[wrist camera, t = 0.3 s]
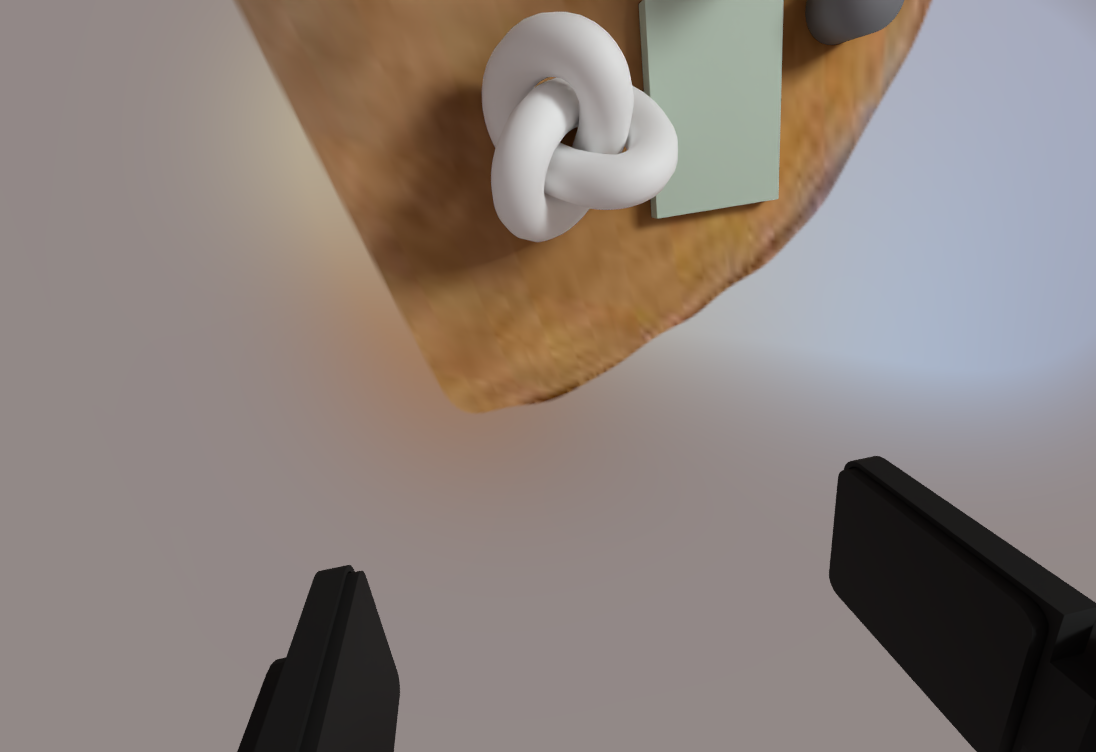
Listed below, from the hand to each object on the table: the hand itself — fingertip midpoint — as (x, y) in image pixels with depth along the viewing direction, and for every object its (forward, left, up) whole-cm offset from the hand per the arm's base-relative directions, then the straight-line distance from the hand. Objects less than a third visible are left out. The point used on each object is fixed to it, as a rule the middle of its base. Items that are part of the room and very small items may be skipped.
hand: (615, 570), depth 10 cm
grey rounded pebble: (-14, +25, -31) cm, 42 cm away
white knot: (-9, +5, -31) cm, 32 cm away
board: (-9, +16, -30) cm, 35 cm away
